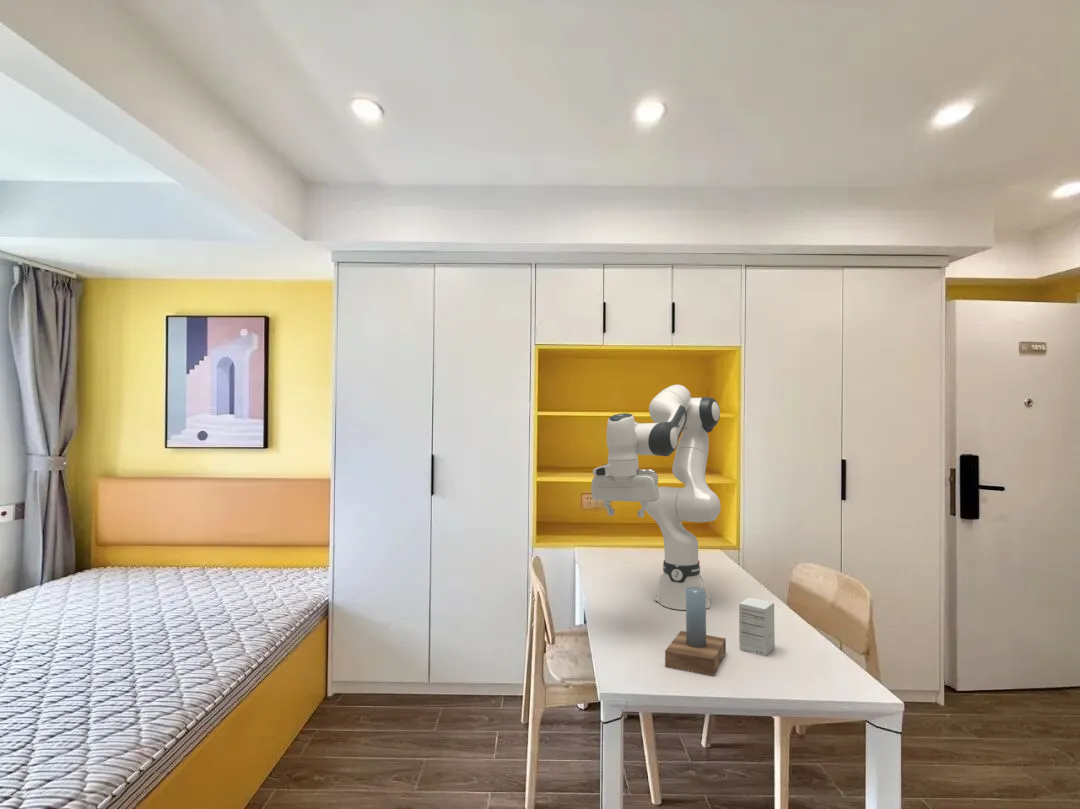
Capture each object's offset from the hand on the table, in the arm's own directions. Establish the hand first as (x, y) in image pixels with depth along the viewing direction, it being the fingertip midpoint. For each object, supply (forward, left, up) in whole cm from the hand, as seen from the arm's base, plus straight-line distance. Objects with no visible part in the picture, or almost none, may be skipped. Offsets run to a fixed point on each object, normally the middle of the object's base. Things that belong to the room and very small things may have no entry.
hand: (625, 516), depth 178 cm
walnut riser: (+11, +23, -34) cm, 42 cm away
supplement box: (-4, +36, -34) cm, 50 cm away
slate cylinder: (+11, +23, -30) cm, 39 cm away
